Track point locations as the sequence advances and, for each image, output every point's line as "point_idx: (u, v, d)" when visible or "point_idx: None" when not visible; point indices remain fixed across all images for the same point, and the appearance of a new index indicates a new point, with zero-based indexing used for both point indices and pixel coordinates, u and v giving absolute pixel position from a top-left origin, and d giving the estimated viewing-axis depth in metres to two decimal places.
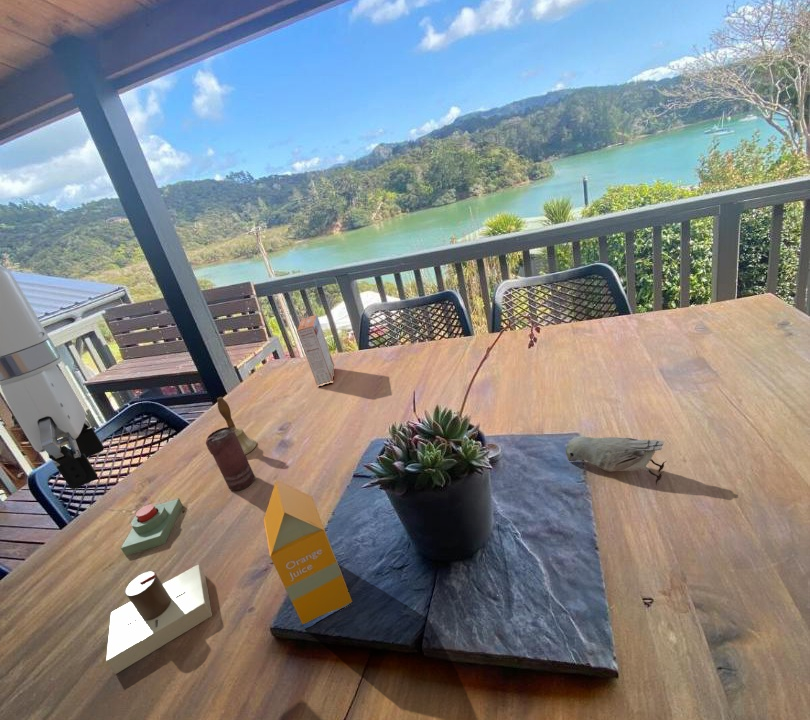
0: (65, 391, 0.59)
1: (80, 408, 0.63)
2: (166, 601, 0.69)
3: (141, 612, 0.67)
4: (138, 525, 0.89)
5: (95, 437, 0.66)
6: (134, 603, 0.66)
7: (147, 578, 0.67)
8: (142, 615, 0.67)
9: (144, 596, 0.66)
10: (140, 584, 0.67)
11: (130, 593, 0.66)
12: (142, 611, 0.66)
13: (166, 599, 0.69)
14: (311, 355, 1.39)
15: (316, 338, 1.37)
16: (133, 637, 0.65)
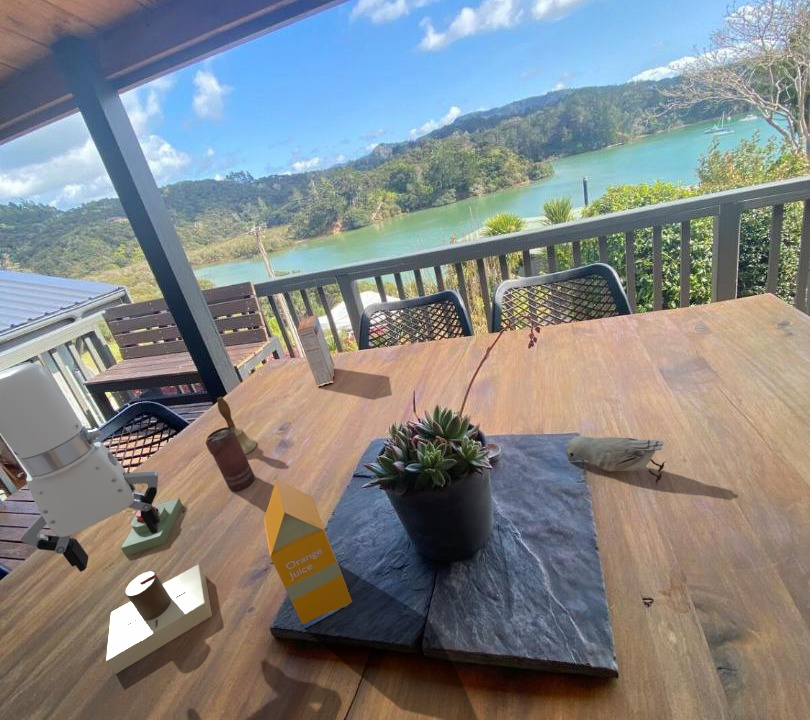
0: (70, 495, 0.58)
1: (109, 503, 0.61)
2: (166, 601, 0.69)
3: (141, 612, 0.67)
4: (138, 525, 0.89)
5: (145, 522, 0.64)
6: (134, 603, 0.66)
7: (147, 578, 0.67)
8: (142, 615, 0.67)
9: (144, 596, 0.66)
10: (140, 584, 0.67)
11: (130, 593, 0.66)
12: (142, 611, 0.66)
13: (166, 599, 0.69)
14: (311, 355, 1.39)
15: (316, 338, 1.37)
16: (133, 637, 0.65)
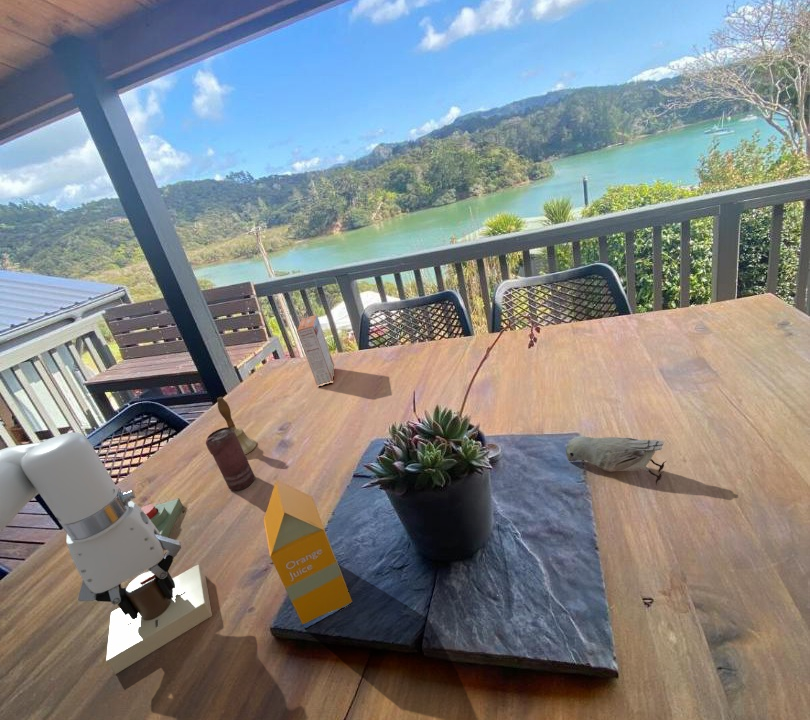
0: (106, 555, 0.62)
1: (142, 560, 0.64)
2: (166, 601, 0.69)
3: (141, 612, 0.67)
4: None
5: (162, 589, 0.68)
6: (134, 603, 0.66)
7: (147, 578, 0.67)
8: (142, 615, 0.67)
9: (144, 596, 0.66)
10: (140, 584, 0.67)
11: (130, 593, 0.66)
12: (142, 611, 0.66)
13: (166, 599, 0.69)
14: (311, 355, 1.39)
15: (316, 338, 1.37)
16: (133, 637, 0.65)
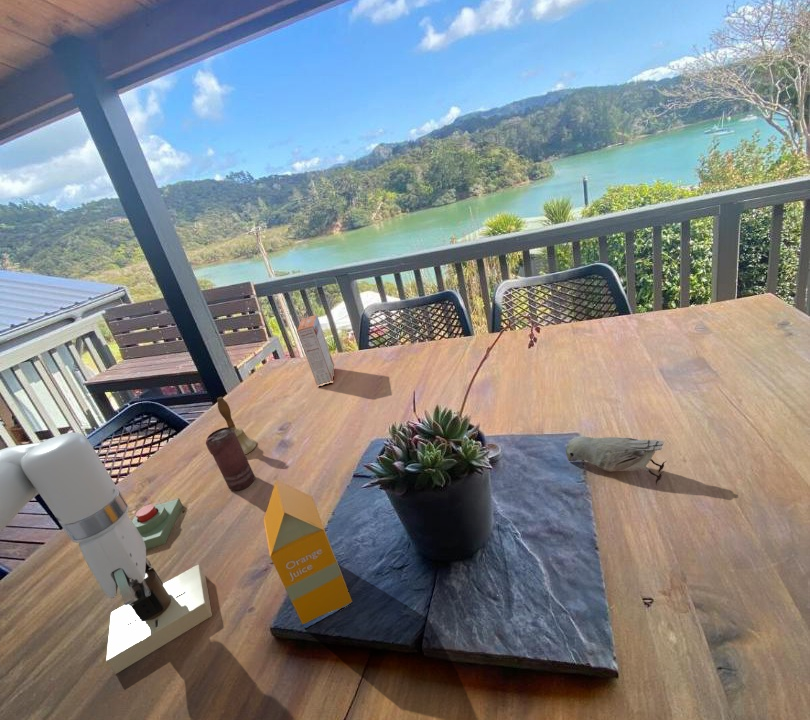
0: (131, 536, 0.64)
1: (142, 543, 0.68)
2: None
3: (162, 600, 0.68)
4: (138, 525, 0.89)
5: None
6: (155, 591, 0.67)
7: None
8: (163, 603, 0.68)
9: (158, 579, 0.68)
10: None
11: (148, 584, 0.66)
12: (163, 596, 0.68)
13: None
14: (311, 355, 1.39)
15: (316, 338, 1.37)
16: (133, 637, 0.65)
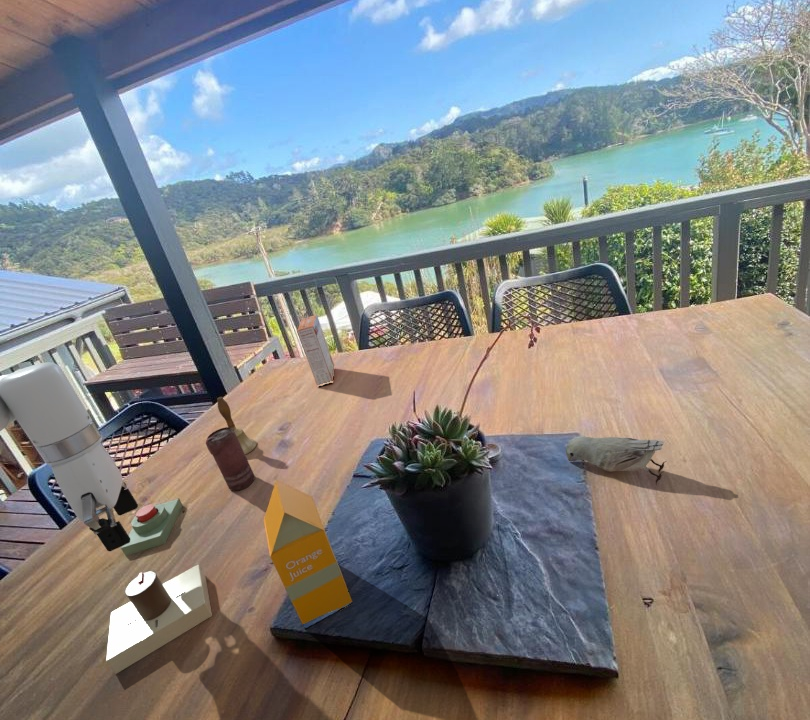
0: (104, 465, 0.68)
1: (117, 475, 0.72)
2: None
3: (162, 600, 0.68)
4: (138, 525, 0.89)
5: (130, 497, 0.75)
6: (155, 592, 0.67)
7: (141, 576, 0.68)
8: (163, 603, 0.68)
9: (158, 579, 0.68)
10: (142, 582, 0.67)
11: (148, 585, 0.66)
12: (163, 596, 0.68)
13: None
14: (311, 355, 1.39)
15: (316, 338, 1.37)
16: (133, 637, 0.65)
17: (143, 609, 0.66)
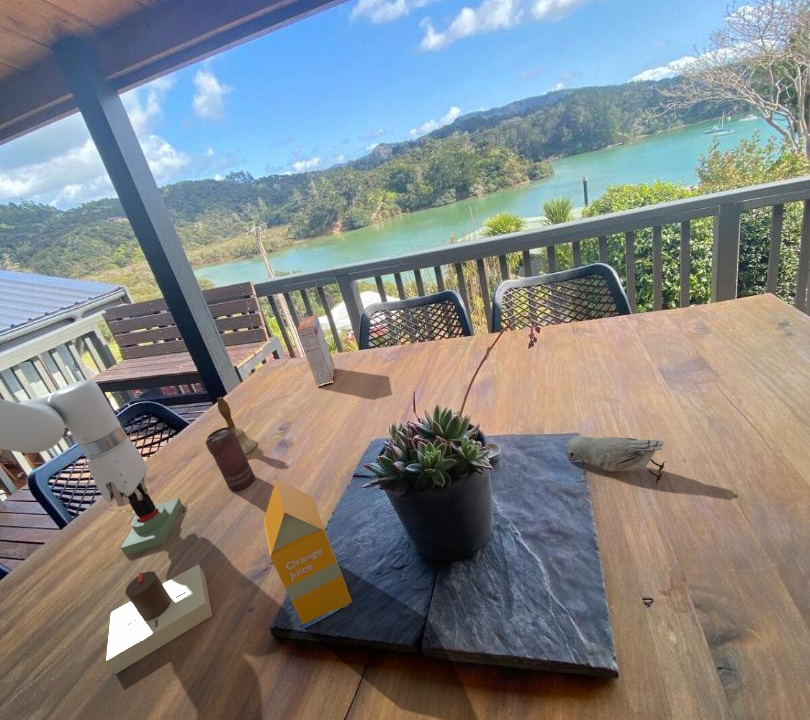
0: (127, 461, 0.86)
1: (141, 467, 0.91)
2: None
3: (162, 600, 0.68)
4: (138, 525, 0.89)
5: (148, 500, 0.91)
6: (155, 592, 0.67)
7: (141, 576, 0.68)
8: (163, 603, 0.68)
9: (158, 579, 0.68)
10: (142, 582, 0.67)
11: (148, 585, 0.66)
12: (163, 596, 0.68)
13: None
14: (311, 355, 1.39)
15: (316, 338, 1.37)
16: (133, 637, 0.65)
17: (143, 609, 0.66)
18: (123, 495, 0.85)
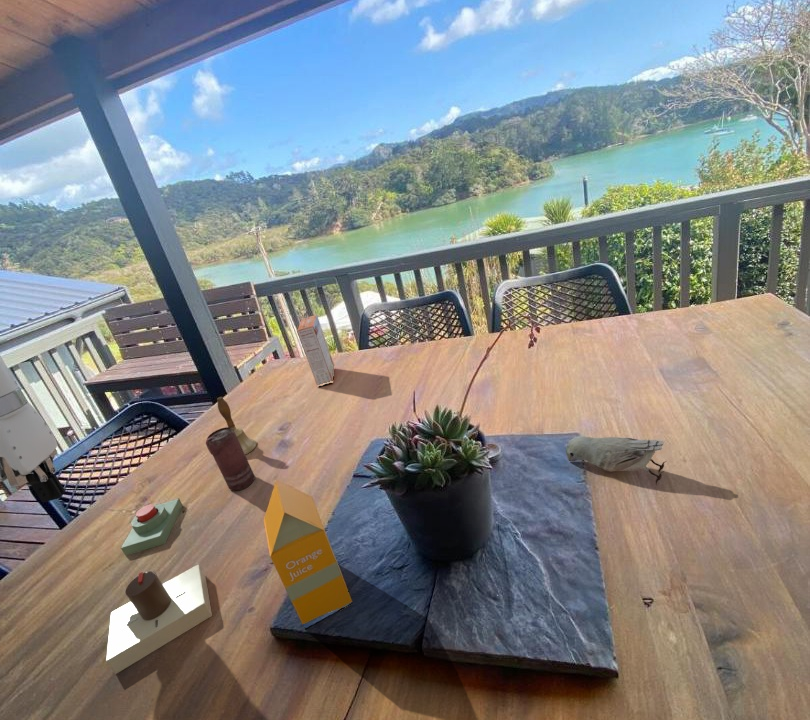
0: (27, 433, 0.71)
1: (48, 442, 0.76)
2: None
3: (162, 600, 0.68)
4: (138, 525, 0.89)
5: (56, 483, 0.76)
6: (155, 592, 0.67)
7: (141, 576, 0.68)
8: (163, 603, 0.68)
9: (158, 579, 0.68)
10: (142, 582, 0.67)
11: (148, 585, 0.66)
12: (163, 596, 0.68)
13: None
14: (311, 355, 1.39)
15: (316, 338, 1.37)
16: (133, 637, 0.65)
17: (143, 609, 0.66)
18: (18, 474, 0.70)
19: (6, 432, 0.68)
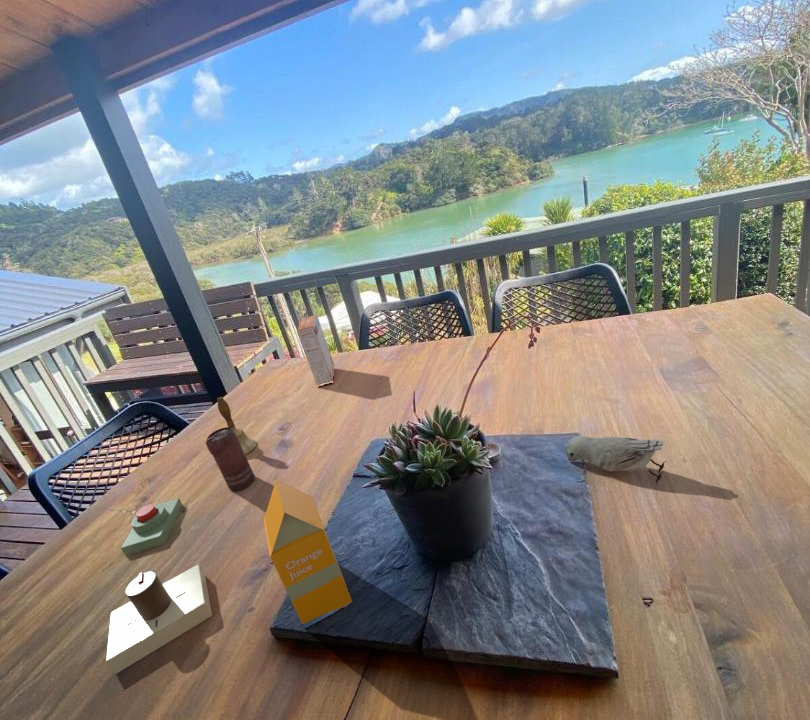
0: None
1: None
2: None
3: (162, 600, 0.68)
4: (138, 525, 0.89)
5: None
6: (155, 592, 0.67)
7: (141, 576, 0.68)
8: (163, 603, 0.68)
9: (158, 579, 0.68)
10: (142, 582, 0.67)
11: (148, 585, 0.66)
12: (163, 596, 0.68)
13: None
14: (311, 355, 1.39)
15: (316, 338, 1.37)
16: (133, 637, 0.65)
17: (143, 609, 0.66)
18: None
19: None
